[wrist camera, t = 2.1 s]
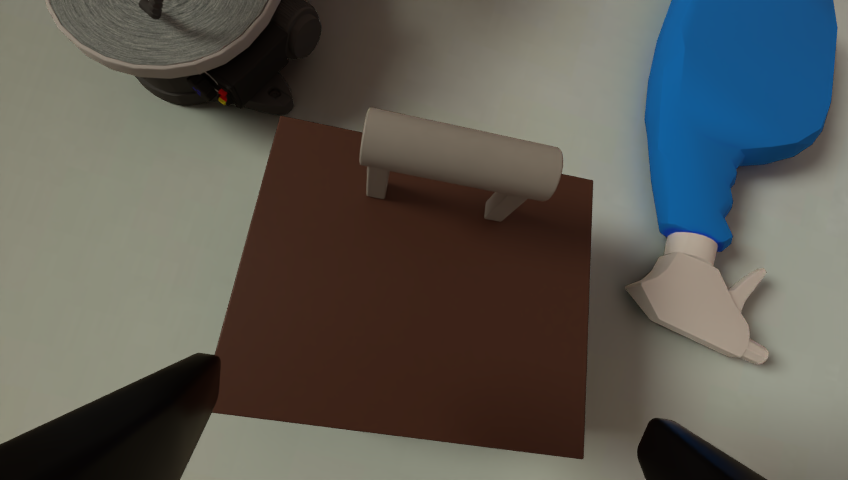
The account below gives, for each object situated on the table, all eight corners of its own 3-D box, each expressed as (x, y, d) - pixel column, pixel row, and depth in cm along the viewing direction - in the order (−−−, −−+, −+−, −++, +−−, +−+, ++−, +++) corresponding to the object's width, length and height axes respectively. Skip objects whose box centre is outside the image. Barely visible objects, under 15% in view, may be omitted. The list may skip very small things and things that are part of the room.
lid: (283, 123, 16) (246, 20, 11) (585, 185, 17) (679, 120, 12) (206, 408, 13) (107, 449, 8) (575, 454, 14) (691, 516, 9)
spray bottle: (704, -74, 25) (605, 290, 18) (857, 1, 25) (814, 381, 19) (669, -32, 28) (573, 296, 21) (807, 34, 28) (755, 375, 22)
